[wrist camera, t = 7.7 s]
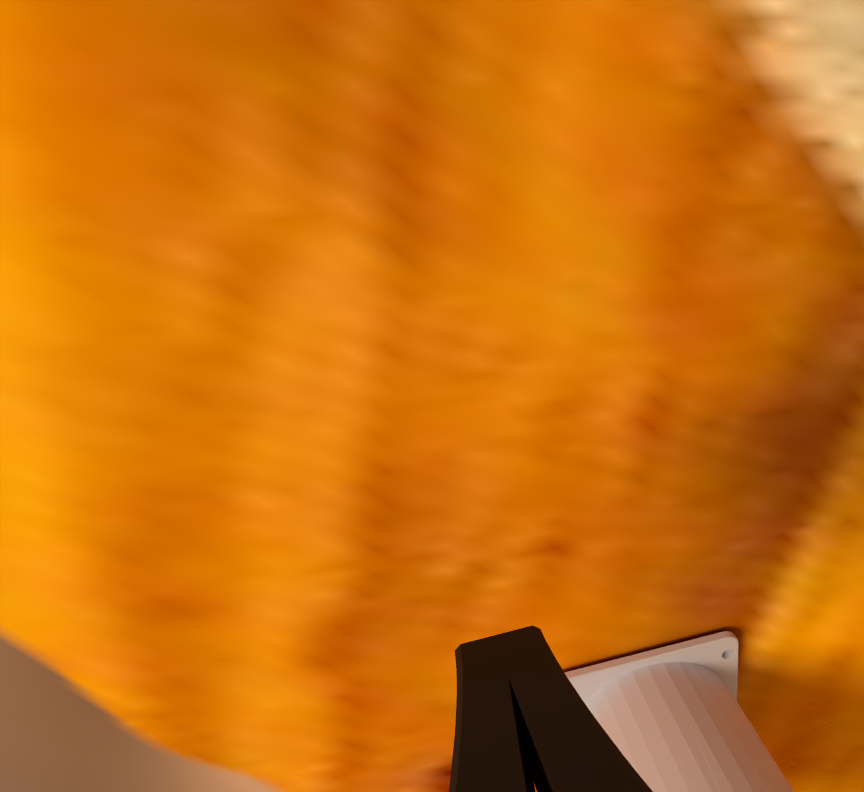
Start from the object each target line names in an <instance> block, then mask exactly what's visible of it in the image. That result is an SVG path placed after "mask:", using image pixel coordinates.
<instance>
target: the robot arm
mask: <svg viewBox="0 0 864 792" xmlns="http://www.w3.org/2000/svg"><path fill="white" fill-rule="evenodd" d="M738 647H739V642H738V639H737V638H736V636H735V635H734V634H733V633H732V632H729V631H723V632H719V633H715V634H711V635H707V636H703V637H699V638H696V639H692V640H688V641H684V642H680V643H676V644H672V645H669V646H665V647H661V648H657V649H653V650H649V651H645V652H641V653H638V654H634V655H630V656H626V657H622V658H618V659H614V660H611V661H607V662H603V663H599V664H595V665H591V666H587V667H584V668H580V669H576V670H572V671H568V672H564V671H563V670H562V668H561V667H560V665H559V663H558V662H557V660H556V658H555V656H554V655H553V653H552V651H551V649H550V648H549V646H548V644H547V642H546V640H545V638H544V636H543V634H542V632H541V630H540V629H539V628H537V627H535V626H529V627H525V628H522V629H518V630H514V631H510V632H506V633H502V634H498V635H494V636H491V637H487V638H483V639H479V640H475V641H471V642H467V643H463V644H460V645H459V647H458V648H457V649H456V650H455V657H456V668H457V707H456V726H455V739H454V749H453V759H452V769H451V779H450V788H449V792H535V787H536V790H537V792H794V790H793V789H792V787H791V786H790V784H789V783H788V781H787V779H786V778H785V776H784V775H783V773H782V772H781V770H780V768H779V767H778V765H777V764H776V762H775V761H774V759H773V757H772V756H771V754H770V753H769V751H768V750H767V748H766V746H765V745H764V743H763V742H762V740H761V739H760V737H759V735H758V734H757V732H756V731H755V729H754V728H753V726H752V724H751V723H750V721H749V720H748V718H747V717H746V715H745V713H744V712H743V710H742V709H741V707H740V706H739V704H738V702H737V694H738ZM533 781H534V782H533ZM534 784H535V787H534Z"/></svg>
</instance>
